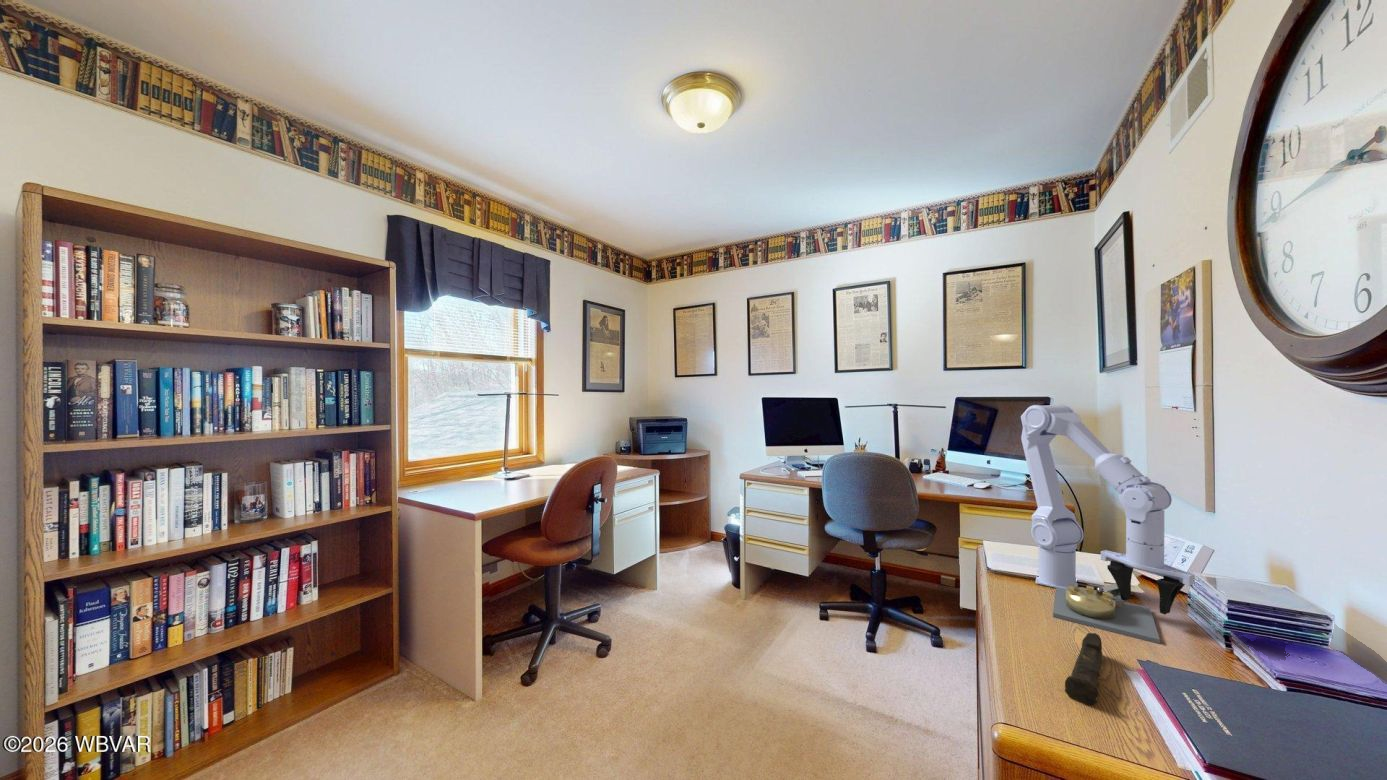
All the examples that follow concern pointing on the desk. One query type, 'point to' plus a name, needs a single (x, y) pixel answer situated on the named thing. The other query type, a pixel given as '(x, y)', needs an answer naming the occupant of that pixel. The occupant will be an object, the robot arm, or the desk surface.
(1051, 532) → the robot arm
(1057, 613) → the base plate
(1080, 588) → the gold rounded piece
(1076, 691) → the dark brown statuette
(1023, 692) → the desk surface
